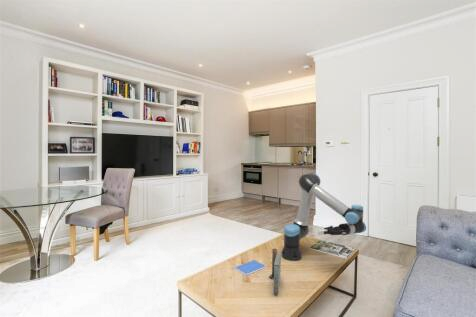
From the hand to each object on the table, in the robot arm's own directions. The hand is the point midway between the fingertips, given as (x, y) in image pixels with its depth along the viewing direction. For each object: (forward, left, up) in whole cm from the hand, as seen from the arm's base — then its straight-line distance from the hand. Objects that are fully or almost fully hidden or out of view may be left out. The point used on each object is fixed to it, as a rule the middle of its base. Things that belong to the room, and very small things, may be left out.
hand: (319, 232), depth 155 cm
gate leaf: (-16, -28, -27) cm, 41 cm away
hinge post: (-22, -19, -28) cm, 40 cm away
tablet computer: (-41, -17, -29) cm, 53 cm away
